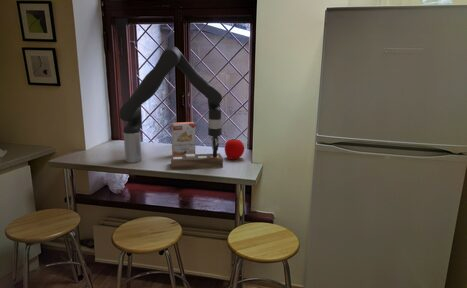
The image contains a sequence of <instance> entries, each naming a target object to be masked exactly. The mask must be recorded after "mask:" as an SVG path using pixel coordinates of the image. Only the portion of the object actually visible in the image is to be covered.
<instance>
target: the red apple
mask: <svg viewBox="0 0 467 288" xmlns="http://www.w3.org/2000/svg"><path fill="white" fill-rule="evenodd" d="M244 152H245V145H244V143H243V141H242V140H240V139H236V138H230V139H228V140H227V141H226V142H225V144H224V153H225V156H226V157H227V158H228V159H229V160H238V159H240V158H242V156H243V154H244Z"/></svg>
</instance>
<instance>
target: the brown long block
mask: <svg viewBox="0 0 467 288" xmlns="http://www.w3.org/2000/svg"><path fill="white" fill-rule="evenodd" d="M217 155H219V157H213V158H211V157H210V156H213V153H200V154H199V153H197V154H196V153H195V158H187V159H186V155H172V154H171V155H170V169H171V170H183V169H184V170H185V169H187V168H188V169H189V170H190V169H206V168H207V169H208V168H224V164H223V163H224V158H223V156H222V155H221V153H218V152H217ZM198 156H207V158H198ZM173 157H182V159H173Z"/></svg>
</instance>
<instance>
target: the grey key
mask: <svg viewBox="0 0 467 288" xmlns="http://www.w3.org/2000/svg"><path fill="white" fill-rule="evenodd" d="M195 154H196V153H195ZM195 154H186V159H187V158H195Z"/></svg>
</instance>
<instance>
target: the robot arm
mask: <svg viewBox="0 0 467 288" xmlns="http://www.w3.org/2000/svg"><path fill="white" fill-rule="evenodd" d="M175 67H177V68H178V69H179V70H180V71H181V72H182V74H184V76H185V77H186V79H187V80H188V81H189V83H190V84H191V85H192V86H193V87H194V88H195V89H196V90H197V91H198V92H199V93H201V94H203V96H204V97H205V98H206V99H207V107H208V124H207V125H208V126H207V128H208V129H207V135H208V136H210V137H211V138H210V141H211V148H212V154H213V157H217V153H218V151H219V144H220V143H219V142H220V139H219V137H220V136H222V122H223V121H222V109H221V103H222V101H223V96H222V94H221V93H220V91H219V90H217V89H216V88H215V87H214V86H213V85H211V84H210V83H209V81H208V80H207V79H206V78H205V77H204V76H202V74H200V73H199V72H198V71H197V70H196V68H195V67H193V65H192V64H191V63H190V62H189V61H188V60H187V58H186V57H185V56H184V54H183V53H182V52H181V51H180V50H179V48H178V47H176V46H173V45H170V46H168V47H166V48H165V49H164V50H163V51H162V52H161V55H160V56H159V58H158V61H157V62H156V64H155V65H154V66H153V68H152V69H151V70H150V71H149V72H148V73H147V74H146V75H145V77H143V79H142V80H141V82H140V83H139V84H138V86H137V88H136V89H135V90H134V92H133V93H132V94H131V96H130V97H129V98H128V99H127V100H126V102H125V103H123V105H122V106H121V107H120V108H119V112H118V116H119V119H120V120H122V121H123V122H127V123H126V125H125V126H124V127H123V132H122V133H123V141H124V142H123V143H124V159H125V160H124V161H125V163H131V164H132V163H133V164H134V163H140V162H141V161H142V160H143V159H142V143H141V128H142V110H141V108H140V107H141V106H142V105H143V104H144V103H146V102H147V101H149V100H150V99H151V98H152V97H153V96H154V95H155V94H156V93H157V91H158V90H159V89H160V87H161V85H162V84H163V81H164V79H165V78H166V76H167V75H168V74H169V73H170V72H171V71H172V70H173V69H174V68H175Z"/></svg>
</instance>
